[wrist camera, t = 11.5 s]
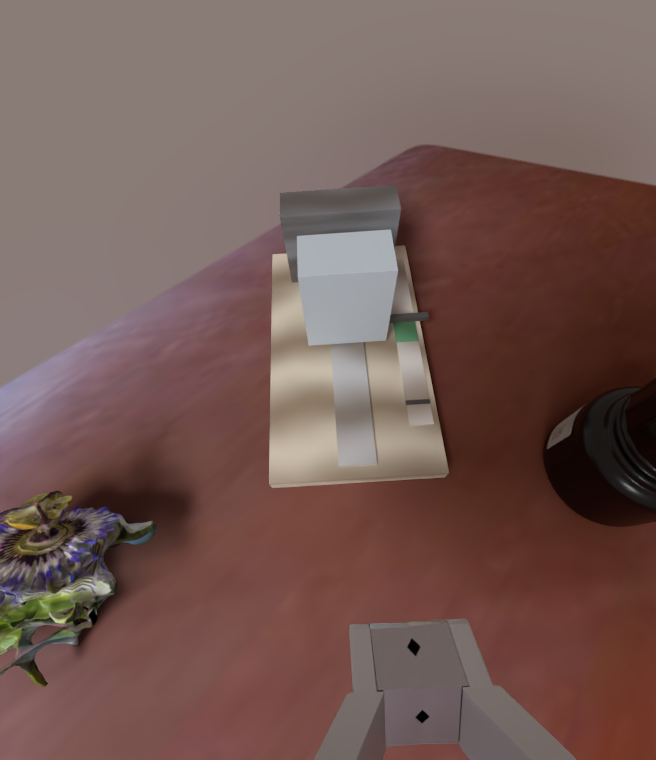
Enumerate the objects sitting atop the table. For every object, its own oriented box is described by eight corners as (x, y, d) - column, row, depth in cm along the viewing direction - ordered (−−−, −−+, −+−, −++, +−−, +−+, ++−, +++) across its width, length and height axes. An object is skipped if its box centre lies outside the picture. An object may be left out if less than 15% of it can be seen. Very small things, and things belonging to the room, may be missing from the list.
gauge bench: (444, 477, 32) (481, 440, 23) (272, 487, 32) (245, 455, 23) (403, 255, 42) (417, 175, 34) (274, 264, 43) (257, 186, 34)
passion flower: (135, 536, 36) (167, 478, 28) (115, 685, 29) (151, 661, 22) (-25, 535, 30) (-37, 463, 23) (-94, 719, 24) (-144, 703, 16)
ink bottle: (635, 414, 33) (772, 337, 23) (684, 522, 29) (879, 492, 19) (521, 422, 33) (605, 349, 23) (555, 532, 29) (675, 506, 19)
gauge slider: (430, 337, 35) (455, 266, 27) (308, 345, 35) (297, 277, 27) (420, 289, 38) (441, 211, 30) (306, 297, 38) (296, 221, 30)
